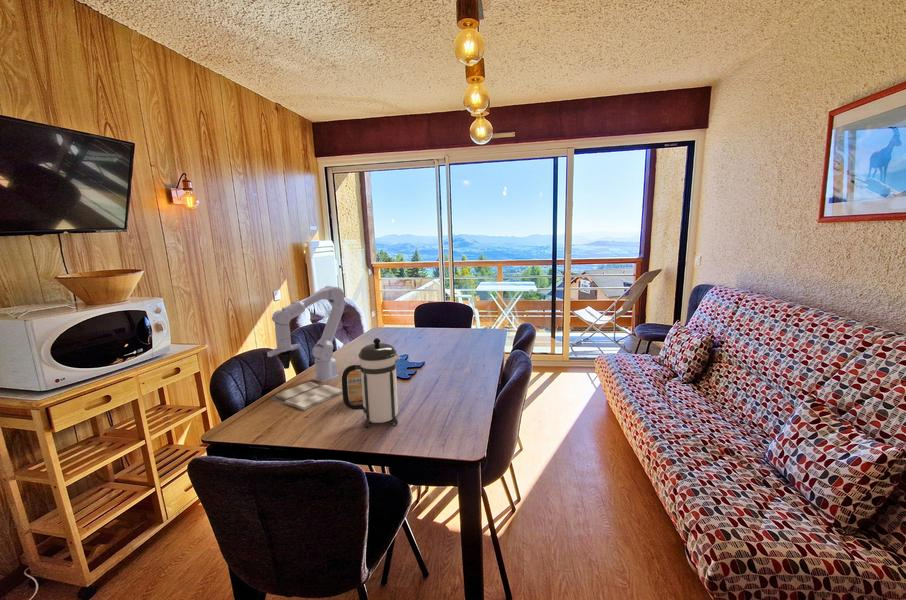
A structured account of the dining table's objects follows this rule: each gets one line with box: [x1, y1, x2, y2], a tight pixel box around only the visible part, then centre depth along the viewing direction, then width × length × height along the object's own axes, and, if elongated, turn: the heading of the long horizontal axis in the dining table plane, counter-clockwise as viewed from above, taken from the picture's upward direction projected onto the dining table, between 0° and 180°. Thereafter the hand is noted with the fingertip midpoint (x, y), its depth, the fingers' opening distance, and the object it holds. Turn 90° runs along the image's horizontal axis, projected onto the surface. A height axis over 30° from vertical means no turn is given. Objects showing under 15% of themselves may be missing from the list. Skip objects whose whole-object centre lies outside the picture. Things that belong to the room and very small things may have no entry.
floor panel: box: [270, 384, 343, 412], centre depth 151 cm, size 20×22×2 cm
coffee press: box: [341, 337, 401, 429], centre depth 127 cm, size 17×16×30 cm
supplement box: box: [347, 369, 363, 403], centre depth 147 cm, size 8×5×13 cm, turn 105°
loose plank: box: [275, 381, 320, 401], centre depth 155 cm, size 16×7×1 cm, turn 148°
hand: (286, 368), depth 159 cm, fingers closed
